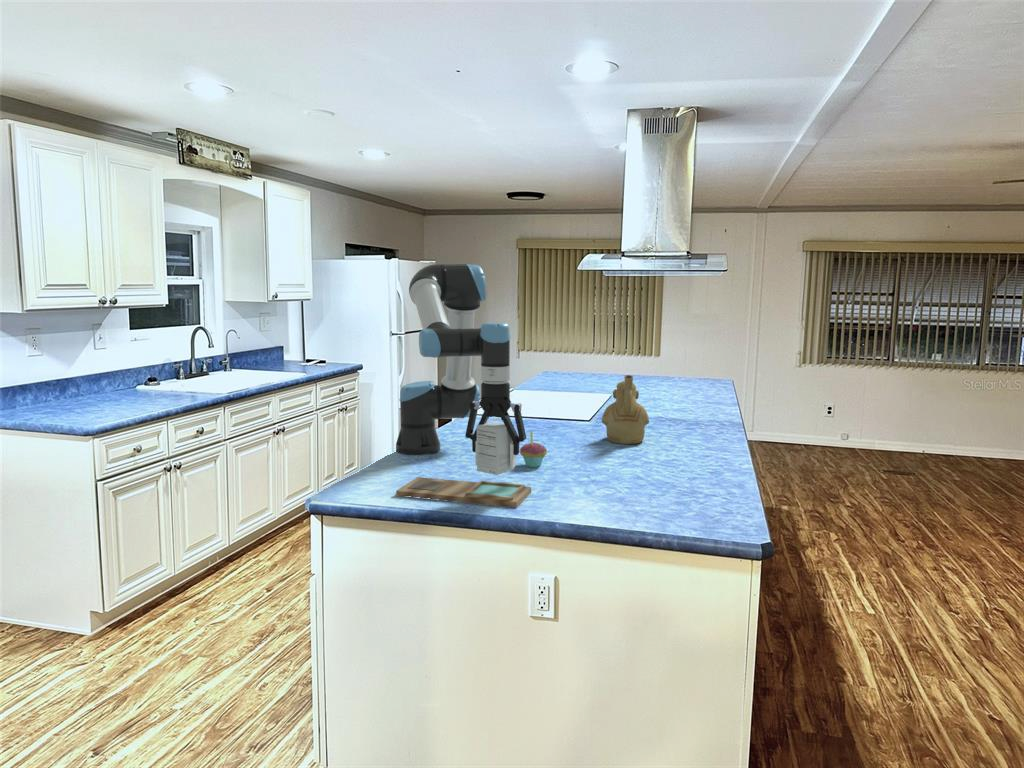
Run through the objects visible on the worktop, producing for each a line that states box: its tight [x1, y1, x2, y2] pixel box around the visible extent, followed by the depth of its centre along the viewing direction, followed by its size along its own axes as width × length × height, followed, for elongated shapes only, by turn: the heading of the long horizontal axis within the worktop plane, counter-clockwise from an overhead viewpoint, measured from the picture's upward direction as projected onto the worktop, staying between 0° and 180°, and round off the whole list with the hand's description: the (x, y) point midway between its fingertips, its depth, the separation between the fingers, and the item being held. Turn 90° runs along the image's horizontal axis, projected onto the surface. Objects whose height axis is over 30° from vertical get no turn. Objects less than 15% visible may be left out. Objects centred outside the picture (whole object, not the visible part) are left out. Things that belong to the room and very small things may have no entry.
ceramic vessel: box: [601, 374, 650, 445], centre depth 256 cm, size 17×20×25 cm
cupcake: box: [519, 429, 548, 468], centre depth 223 cm, size 9×8×12 cm
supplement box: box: [476, 420, 515, 476], centre depth 188 cm, size 7×7×13 cm
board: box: [395, 476, 532, 509], centre depth 193 cm, size 34×14×2 cm, turn 73°
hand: (495, 465), depth 189 cm, fingers closed on supplement box, 9 cm apart
